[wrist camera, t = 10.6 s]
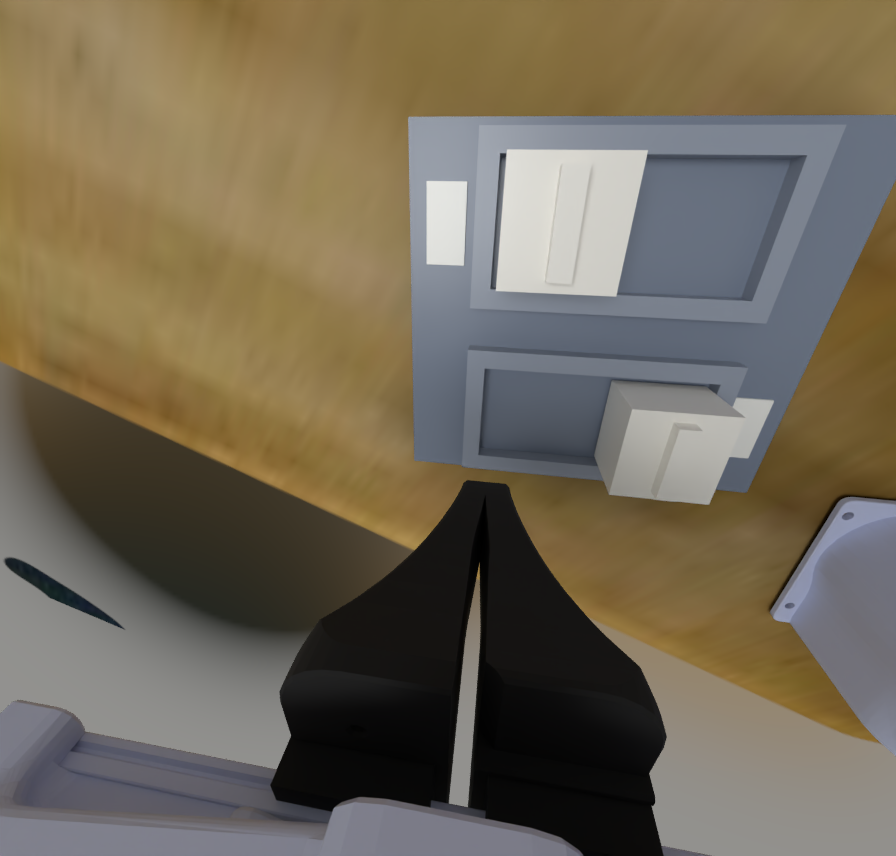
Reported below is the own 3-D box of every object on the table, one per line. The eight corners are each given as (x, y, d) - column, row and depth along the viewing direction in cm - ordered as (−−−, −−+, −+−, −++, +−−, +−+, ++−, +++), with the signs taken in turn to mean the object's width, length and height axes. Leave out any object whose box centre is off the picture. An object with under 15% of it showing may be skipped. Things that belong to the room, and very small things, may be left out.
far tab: (678, 463, 19) (715, 514, 15) (594, 455, 19) (612, 503, 16) (706, 386, 17) (755, 425, 13) (611, 380, 17) (636, 416, 14)
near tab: (596, 284, 16) (620, 299, 12) (497, 280, 16) (495, 293, 13) (619, 166, 14) (655, 145, 10) (507, 165, 14) (507, 145, 11)
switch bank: (730, 474, 21) (755, 502, 19) (420, 446, 23) (411, 468, 20) (883, 126, 14) (951, 108, 12) (417, 127, 16) (403, 110, 13)
